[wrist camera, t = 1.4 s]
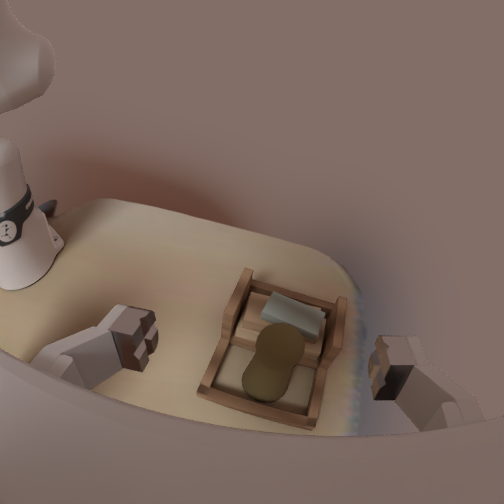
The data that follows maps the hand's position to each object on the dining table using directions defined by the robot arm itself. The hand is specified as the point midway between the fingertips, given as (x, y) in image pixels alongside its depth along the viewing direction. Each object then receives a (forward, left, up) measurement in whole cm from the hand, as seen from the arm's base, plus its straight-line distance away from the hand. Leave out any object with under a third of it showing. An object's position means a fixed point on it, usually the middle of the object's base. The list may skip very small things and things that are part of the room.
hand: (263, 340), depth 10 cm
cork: (-4, +11, -27) cm, 30 cm away
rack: (-6, +15, -27) cm, 31 cm away
